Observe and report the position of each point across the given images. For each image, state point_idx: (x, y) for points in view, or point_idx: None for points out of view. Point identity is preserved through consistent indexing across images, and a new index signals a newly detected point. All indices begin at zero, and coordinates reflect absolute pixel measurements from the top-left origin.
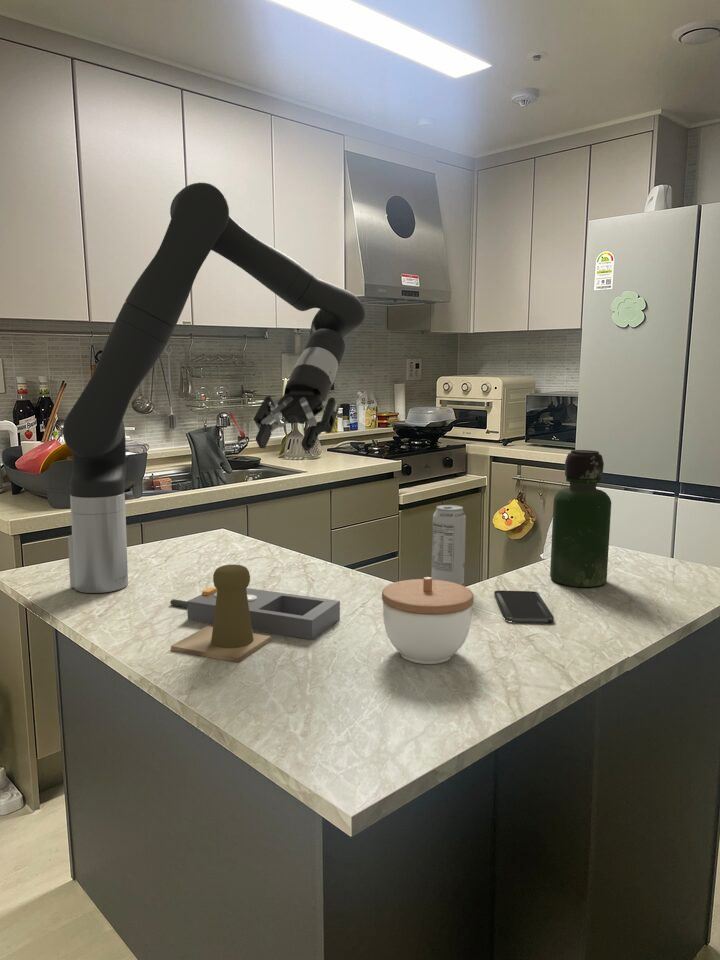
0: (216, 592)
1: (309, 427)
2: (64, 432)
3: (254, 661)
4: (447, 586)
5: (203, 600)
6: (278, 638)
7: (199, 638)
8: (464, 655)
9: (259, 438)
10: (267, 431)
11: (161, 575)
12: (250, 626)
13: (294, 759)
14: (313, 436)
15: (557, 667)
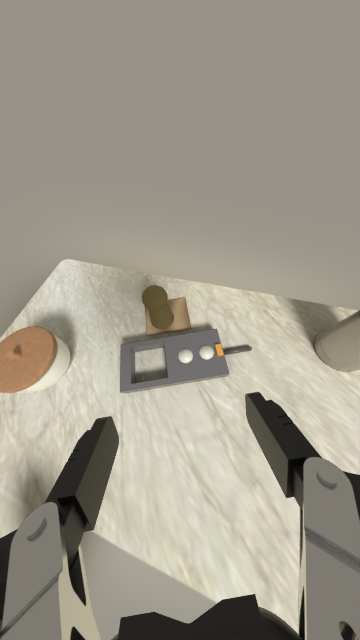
0: (216, 354)
1: (68, 489)
2: None
3: (139, 310)
4: (2, 373)
5: (208, 335)
6: (145, 340)
7: (180, 311)
8: None
9: (254, 396)
10: (275, 453)
11: (342, 408)
12: (150, 318)
13: (86, 266)
14: (68, 463)
15: None
